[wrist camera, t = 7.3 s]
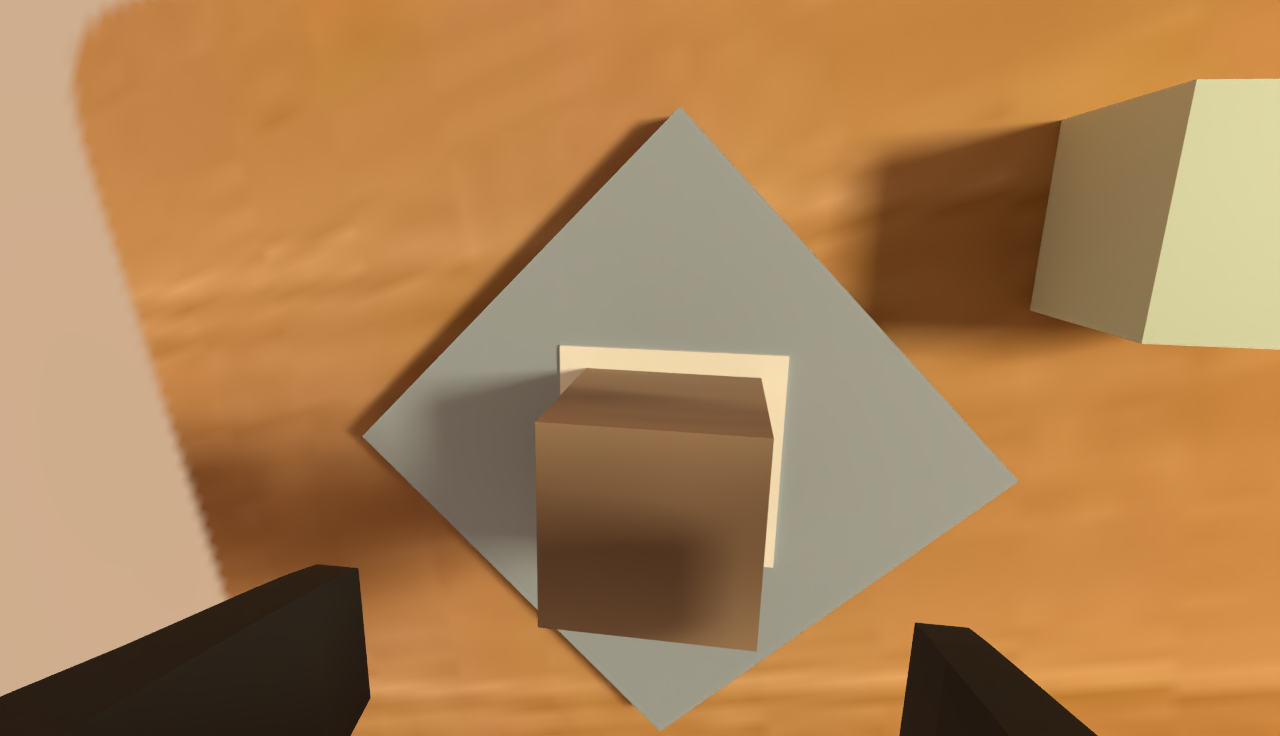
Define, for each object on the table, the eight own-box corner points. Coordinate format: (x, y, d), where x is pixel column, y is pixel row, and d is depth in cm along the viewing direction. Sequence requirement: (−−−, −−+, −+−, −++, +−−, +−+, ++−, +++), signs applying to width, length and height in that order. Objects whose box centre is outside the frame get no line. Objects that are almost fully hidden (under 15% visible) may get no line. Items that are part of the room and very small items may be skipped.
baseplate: (663, 703, 18) (659, 734, 17) (382, 423, 17) (359, 437, 16) (999, 463, 15) (1020, 483, 14) (683, 113, 14) (679, 105, 13)
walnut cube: (749, 540, 15) (756, 651, 11) (584, 525, 15) (537, 627, 12) (761, 378, 14) (774, 438, 10) (586, 368, 15) (534, 422, 11)
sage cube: (1225, 317, 14) (1421, 355, 10) (1028, 309, 14) (1141, 343, 10) (1271, 121, 13) (1509, 78, 9) (1059, 120, 13) (1196, 79, 9)
